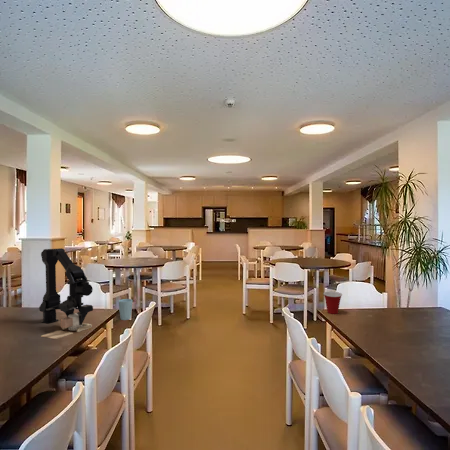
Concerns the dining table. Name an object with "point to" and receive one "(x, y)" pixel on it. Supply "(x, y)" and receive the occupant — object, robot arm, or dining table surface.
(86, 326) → the beige u-shaped bar frame
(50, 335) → the coaster
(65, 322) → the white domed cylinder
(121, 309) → the cup
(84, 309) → the robot arm
